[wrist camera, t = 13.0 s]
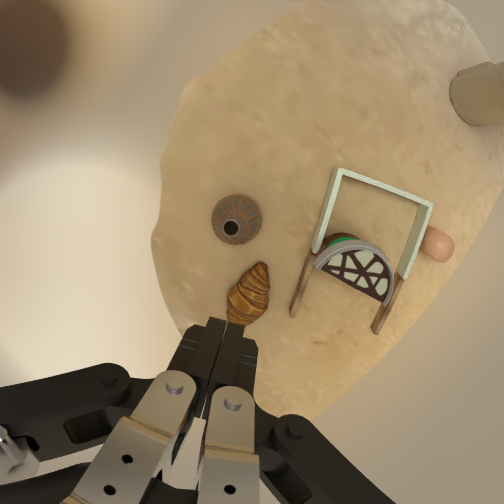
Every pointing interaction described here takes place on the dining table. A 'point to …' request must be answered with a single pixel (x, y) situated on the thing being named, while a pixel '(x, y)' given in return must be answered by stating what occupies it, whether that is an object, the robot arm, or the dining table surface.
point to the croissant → (249, 296)
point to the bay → (424, 207)
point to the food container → (357, 265)
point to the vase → (236, 219)
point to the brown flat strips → (382, 310)
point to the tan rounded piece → (437, 244)
